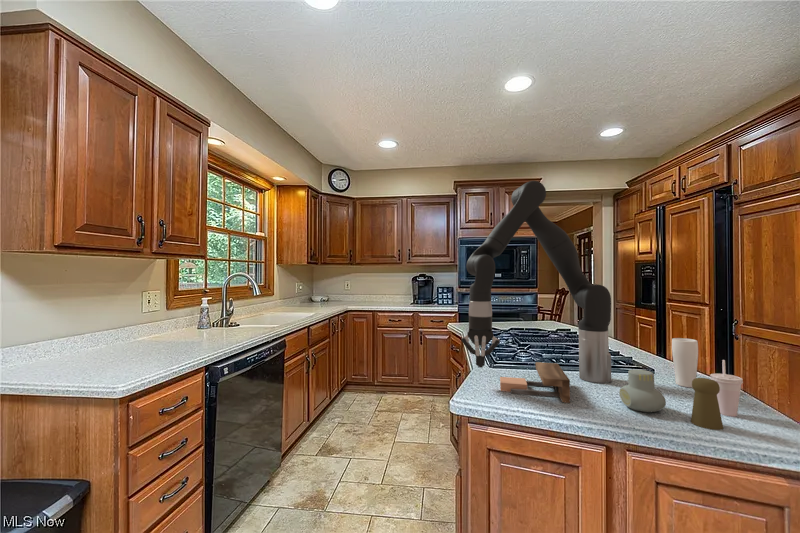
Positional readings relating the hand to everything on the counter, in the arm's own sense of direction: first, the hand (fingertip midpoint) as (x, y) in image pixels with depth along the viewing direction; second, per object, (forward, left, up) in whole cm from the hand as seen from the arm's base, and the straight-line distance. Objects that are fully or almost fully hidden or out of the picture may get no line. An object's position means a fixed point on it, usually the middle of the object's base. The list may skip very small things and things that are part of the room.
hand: (480, 366), depth 118 cm
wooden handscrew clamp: (-18, 0, -6) cm, 19 cm away
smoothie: (-63, +9, -7) cm, 64 cm away
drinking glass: (-65, -16, -7) cm, 68 cm away
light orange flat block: (-10, 0, -6) cm, 12 cm away
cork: (-54, +18, -7) cm, 58 cm away
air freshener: (-43, +10, -7) cm, 45 cm away
